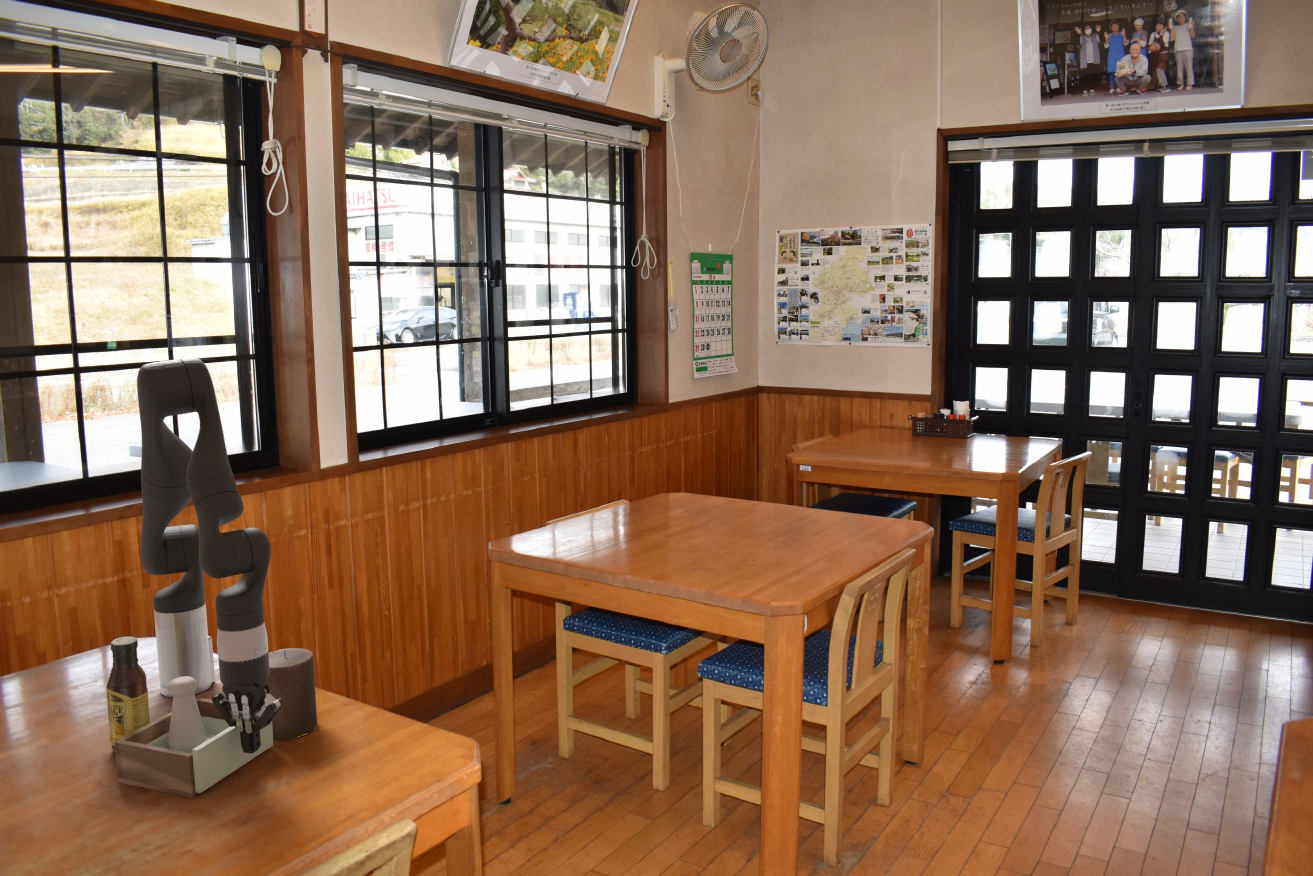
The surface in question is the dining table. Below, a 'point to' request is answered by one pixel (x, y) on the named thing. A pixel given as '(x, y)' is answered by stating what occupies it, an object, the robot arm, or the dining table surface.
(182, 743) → the salt shaker
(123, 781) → the cabinet
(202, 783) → the drawer
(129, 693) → the sauce bottle
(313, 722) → the pillar candle
